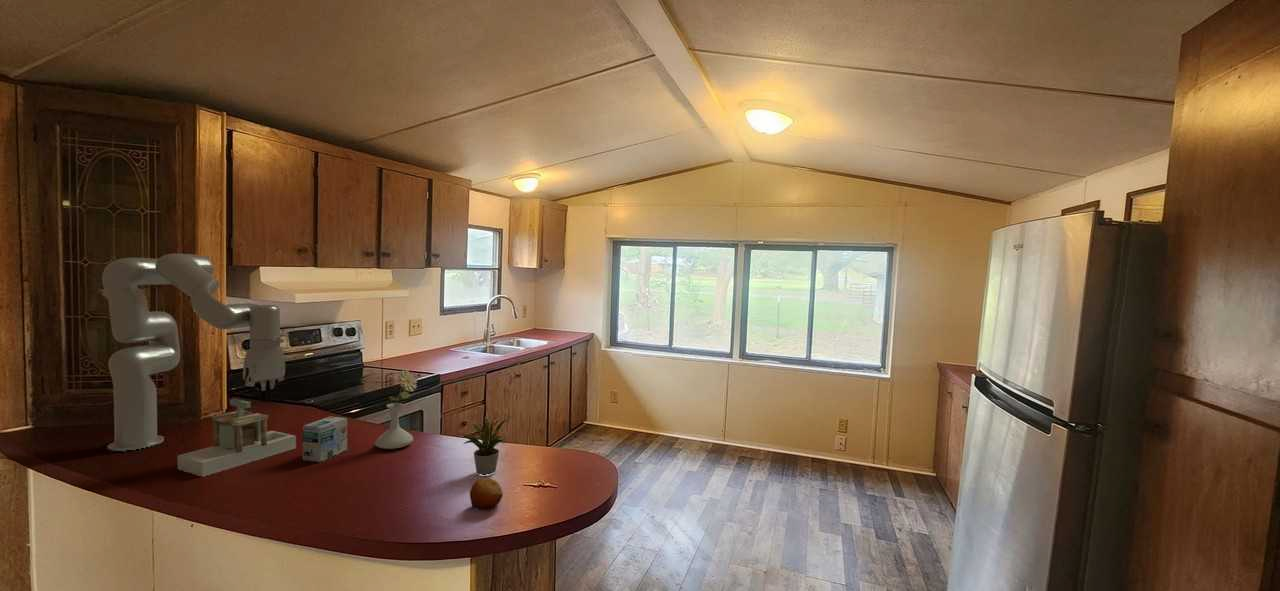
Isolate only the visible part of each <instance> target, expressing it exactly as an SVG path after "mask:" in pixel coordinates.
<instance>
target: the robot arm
mask: <svg viewBox="0 0 1280 591" xmlns="http://www.w3.org/2000/svg"><path fill="white" fill-rule="evenodd" d="M213 273H214V264H213V263H212V261H211V260H210V259H209V258H207V257H206V256H204V255H201V254H193V253H192V254H191V253H168V254H164V255H162V256H161V257H159V258H154V257H153V258H152V257H151V258H150V257H148V258H147V257H125V258H123V257H122V258H119V259H115V260H113V261H111V262H110V263H108V264H107V265H106V266H105V268H104V270H103V272H102V276H101V279H102V280H101V282H102V287H103V288H104V291H105V294H106V297H107V300H108V310H109V318H110V319H109V320H110V326H111V332H112V336H113V339H114V340H115V341H117V343H118V342H119V343H123V344H133V343H141V342H142V343H143V342H148V344H146V345H139V346H131V347H127V348H126V347H125V348H123V349H122V348H121V349H120V350H118V351H115V352H114V353H112V354H111V356H110V357H109V359H108V361H107V362H108V363H107V365H108V370H109V371H108V372H109V374H110V376H111V380H112V382H111V383H112V386H113V388H112V389H113V417H114V419H113V420H114V422H113V423H114V442H111V443H109V444H108V445H107V446H106V447H107V448H106V449H109V450H113V451H123V452H127V451H126V450H133V451H137V450H136V449H139V450H142V449H141V448H144V449H147V448H146V447H148V448H151V446H152V447H155V446H157V444H158V445H160V444H161V443H163V442H164V440H165V437H164V436H163V435H158V403H157V402H158V401H157V400H158V396H157V395H158V394H157V386H156V384H155V382H154V381H153V380H152V379H151V377H150V376H149V375H153V374H158V373H163V372H168V371H171V370H173V369H175V368H176V367H177V366H178V365H179V363H180V360H181V349H180V348H181V347H180V346H181V345H180V337H179V330H178V324H177V322H176V319H174V317H173V316H172V315H171V314H170V313H168V312H166V311H154V310H153V311H149V305H148V299H147V297H146V295H145V293H144V292H143V291H142V290H141V289H140V288H139V287H138V286H140V285H141V286H143V285H144V286H147V285H149V286H151V285H155V286H156V285H174V287H176V288H177V289H179V290H180V291H182V292H183V293H184V294H186V296H188V297H189V298H190V305H191V308H192V310H193V312H194V313H195V314H196V316H197V317H199V318H200V319H202V320H203V321H204V322H206V323H207V324H209V325H210V326H211V327H214V328H216V329H219V330H232V329H241V328H243V329H244V328H249V348H248V349H246V352H245V354H244V359H243V366H242V367H243V369H242V380H244V381H245V383H244V385H245V387H253V388H255V389H256V390H257V391H258V400H259V403H263V404H266V403H271V402H272V398H273V389H274V388H275V386H276V385H277V384H278V383H280V382H282V381H284V380H285V374H286V362H285V361H286V359H285V354H284V349H283V347H282V346H281V344H284V341H285V340H284V339H283V338H281V332H280V331H281V329H280V328H281V312H280V311H281V310H280V307H279V306H278V305H276V304H257V303H256V304H255V303H248V302H247V303H246V302H245V303H229V304H225V303H224V302H223V303H222V302H221V301H219V299H217V298H215V296H213V295H214V294H215V293H217V291H218V290H219V288H220V281H219V280H218V278H217V277H215V276H214V275H213ZM154 445H155V446H154ZM109 450H108V451H109ZM113 451H112V452H113Z"/></svg>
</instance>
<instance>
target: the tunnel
mask: <svg viewBox="0 0 1280 591" xmlns="http://www.w3.org/2000/svg"><path fill="white" fill-rule="evenodd" d="M268 419H269V415H267V414H263V413H258V412H256V413H253V411H250V410H249V411H248V410H245V409H244V416H243V417H238V418H237V410H235V411H232V412H226V413H221V414H217V415H213V416H211V421H213V446H214V447H216V446H220V425H221V424H220V422H221V423H225V422H227V425H232V424H233V425H236V427H235V428H236V452H242V425H243V426H244V424H248V423H252V422H256V421H260V434H261V445H266V444H267V432H268V430H267V429H268V428H267V427H268V426H267V424H268V423H267V422H268Z"/></svg>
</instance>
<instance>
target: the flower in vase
mask: <svg viewBox="0 0 1280 591" xmlns="http://www.w3.org/2000/svg"><path fill="white" fill-rule="evenodd" d="M398 382H399V385H400V386H401V387H400V388H401V389H400V391H399V394H398V396H397V397H394V396H391V395H390V396H389V400H390V401H395V402H394V403H389V404H386V407H387V409H388V411H389V414H390V425H389V428H388V429H387V430H386V431H384V433H382V434H381V435H380V436H378V437H377V439H376V440H375V443H374V445H375V446H376V447H377V448H379V449H384V450H391V449H393V450H394V449H399V448H403V447H406V446H408V445H410V444H412V443H413V441H414V436H413V435H412V434H411V433H410V432H408V431H406V430H405V429H403V428H401V427H400V424H399V418H400V412H401V409H402V408H403V406H404V404H403V403H400V402H398V401H399V398H400V397H401V398H402V399H403V400H406V399H408V398H410V396H411V394H410V393H413V392H414V391H415V390H416V389H417V387H418V386H417V383H418V381H417V380H416V378H415V375H414V374H413V373H411V372H410V371H409V370H407V369H406V370H404V369H402V370H401V371H400V373H399V375H398ZM402 390H403V391H402ZM409 392H410V393H409Z"/></svg>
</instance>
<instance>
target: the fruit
mask: <svg viewBox="0 0 1280 591" xmlns="http://www.w3.org/2000/svg"><path fill="white" fill-rule="evenodd" d="M469 497H470V498H469V499H470V503H471V509H472V510H474V509H477V510H479V511H489V510H490V511H492V510H494V509H495V508H496V507H497V506H498V505H499V504H500V502H501V500H502V499H503V490H502V487H501V485H500V484H499V482H497V481H496V480H495V479H492V478H490V477H481V478H478V479H477V480H476V481H475V482H474V483H473V484H472V485H471V488H470V491H469ZM491 509H492V510H491Z"/></svg>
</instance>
